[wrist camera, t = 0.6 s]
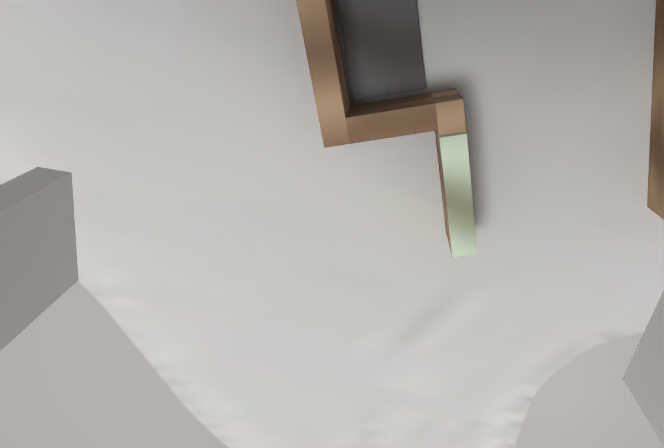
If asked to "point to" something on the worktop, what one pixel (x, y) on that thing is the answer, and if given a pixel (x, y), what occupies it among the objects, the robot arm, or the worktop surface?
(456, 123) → the wooden zigzag frame
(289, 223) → the worktop surface
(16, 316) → the robot arm
